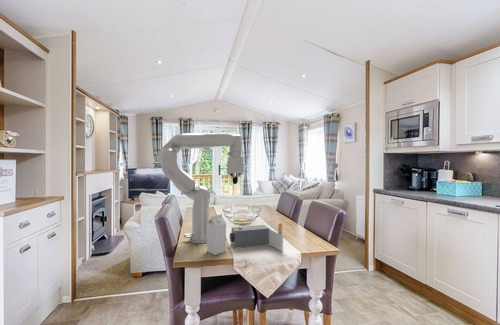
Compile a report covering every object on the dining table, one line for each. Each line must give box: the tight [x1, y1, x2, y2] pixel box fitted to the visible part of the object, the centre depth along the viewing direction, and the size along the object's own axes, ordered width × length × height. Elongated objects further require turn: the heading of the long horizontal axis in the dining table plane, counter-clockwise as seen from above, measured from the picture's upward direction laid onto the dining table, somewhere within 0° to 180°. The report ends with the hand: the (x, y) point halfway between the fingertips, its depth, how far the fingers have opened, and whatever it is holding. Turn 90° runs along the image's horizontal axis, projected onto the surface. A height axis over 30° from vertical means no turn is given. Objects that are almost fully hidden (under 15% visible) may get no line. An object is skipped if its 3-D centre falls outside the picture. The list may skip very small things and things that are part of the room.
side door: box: [268, 222, 284, 252], centre depth 145 cm, size 12×2×14 cm, turn 27°
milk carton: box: [206, 213, 227, 256], centre depth 138 cm, size 7×7×19 cm
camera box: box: [229, 224, 271, 249], centre depth 151 cm, size 22×8×10 cm, turn 109°
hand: (235, 183), depth 168 cm, fingers closed
